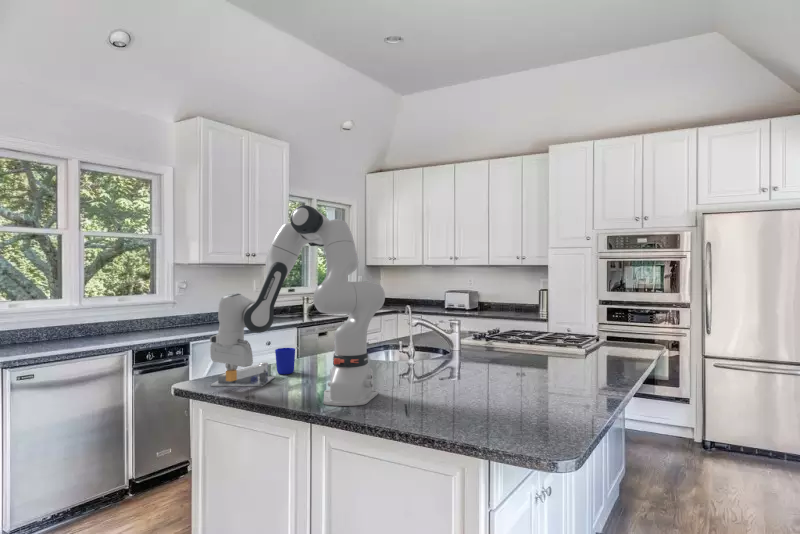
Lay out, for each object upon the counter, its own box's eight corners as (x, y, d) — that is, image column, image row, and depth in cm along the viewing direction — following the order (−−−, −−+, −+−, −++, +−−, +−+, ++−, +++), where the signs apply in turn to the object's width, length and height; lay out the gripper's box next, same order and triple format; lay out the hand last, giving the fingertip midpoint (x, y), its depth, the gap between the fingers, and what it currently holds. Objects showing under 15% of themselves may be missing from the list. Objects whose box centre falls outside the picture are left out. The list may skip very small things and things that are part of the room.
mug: (300, 369, 222) (300, 346, 222) (292, 375, 210) (291, 350, 210) (282, 369, 223) (281, 346, 223) (272, 375, 211) (272, 350, 211)
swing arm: (269, 371, 199) (269, 361, 199) (231, 381, 182) (231, 371, 182) (263, 370, 201) (263, 361, 201) (225, 380, 184) (225, 370, 184)
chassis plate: (262, 386, 192) (262, 376, 191) (210, 386, 193) (210, 376, 193) (274, 377, 205) (274, 368, 205) (225, 377, 207) (225, 368, 207)
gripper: (256, 339, 184) (257, 378, 184) (221, 335, 196) (222, 371, 196) (242, 341, 179) (242, 381, 179) (207, 337, 190) (207, 374, 191)
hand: (231, 376), depth 187 cm, fingers closed
